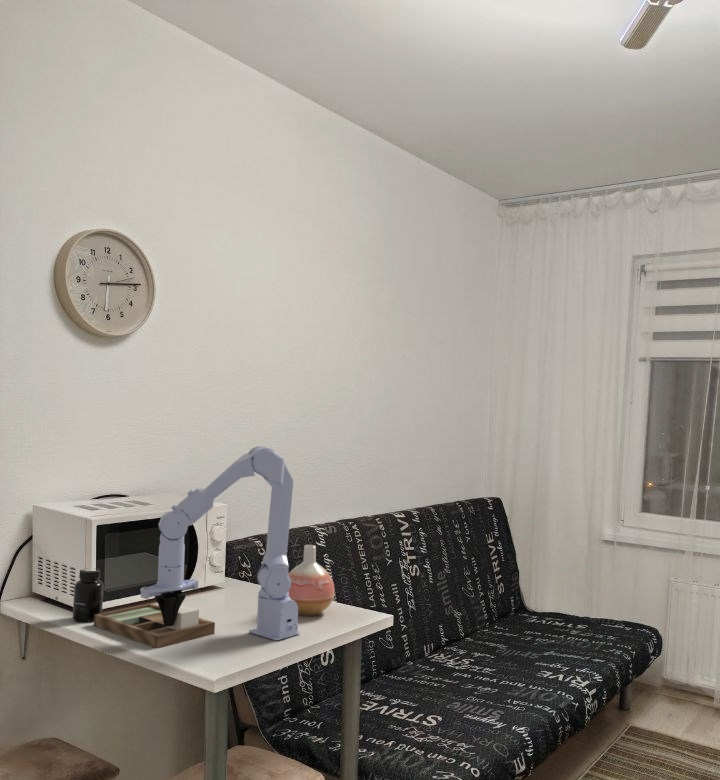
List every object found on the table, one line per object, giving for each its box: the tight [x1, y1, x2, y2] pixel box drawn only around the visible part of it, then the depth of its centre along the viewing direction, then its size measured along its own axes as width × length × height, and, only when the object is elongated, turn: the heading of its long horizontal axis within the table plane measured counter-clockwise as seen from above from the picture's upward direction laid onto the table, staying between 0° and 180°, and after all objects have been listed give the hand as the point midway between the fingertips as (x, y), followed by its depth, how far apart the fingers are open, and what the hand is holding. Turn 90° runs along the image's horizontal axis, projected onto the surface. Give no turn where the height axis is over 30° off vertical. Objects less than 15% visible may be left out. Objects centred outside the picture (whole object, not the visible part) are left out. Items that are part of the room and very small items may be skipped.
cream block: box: [167, 605, 200, 630], centre depth 179 cm, size 5×5×4 cm
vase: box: [288, 544, 335, 617], centre depth 203 cm, size 14×14×18 cm
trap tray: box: [93, 602, 216, 649], centre depth 183 cm, size 25×16×3 cm, turn 51°
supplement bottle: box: [72, 568, 104, 623], centre depth 190 cm, size 7×7×12 cm
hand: (168, 625), depth 176 cm, fingers closed
